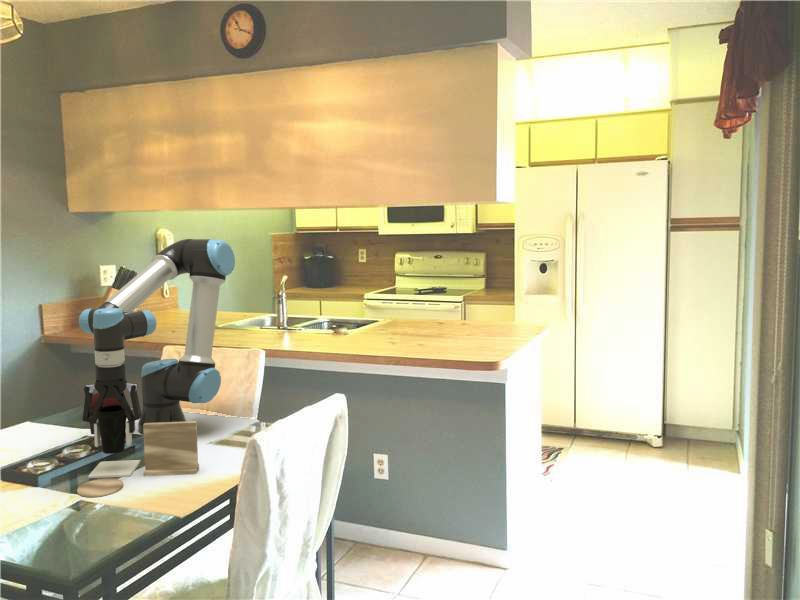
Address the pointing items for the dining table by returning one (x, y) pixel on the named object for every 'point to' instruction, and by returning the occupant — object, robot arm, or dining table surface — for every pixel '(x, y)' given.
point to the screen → (170, 448)
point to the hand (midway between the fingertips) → (113, 444)
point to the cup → (112, 428)
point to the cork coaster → (100, 487)
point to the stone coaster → (114, 469)
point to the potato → (106, 402)
